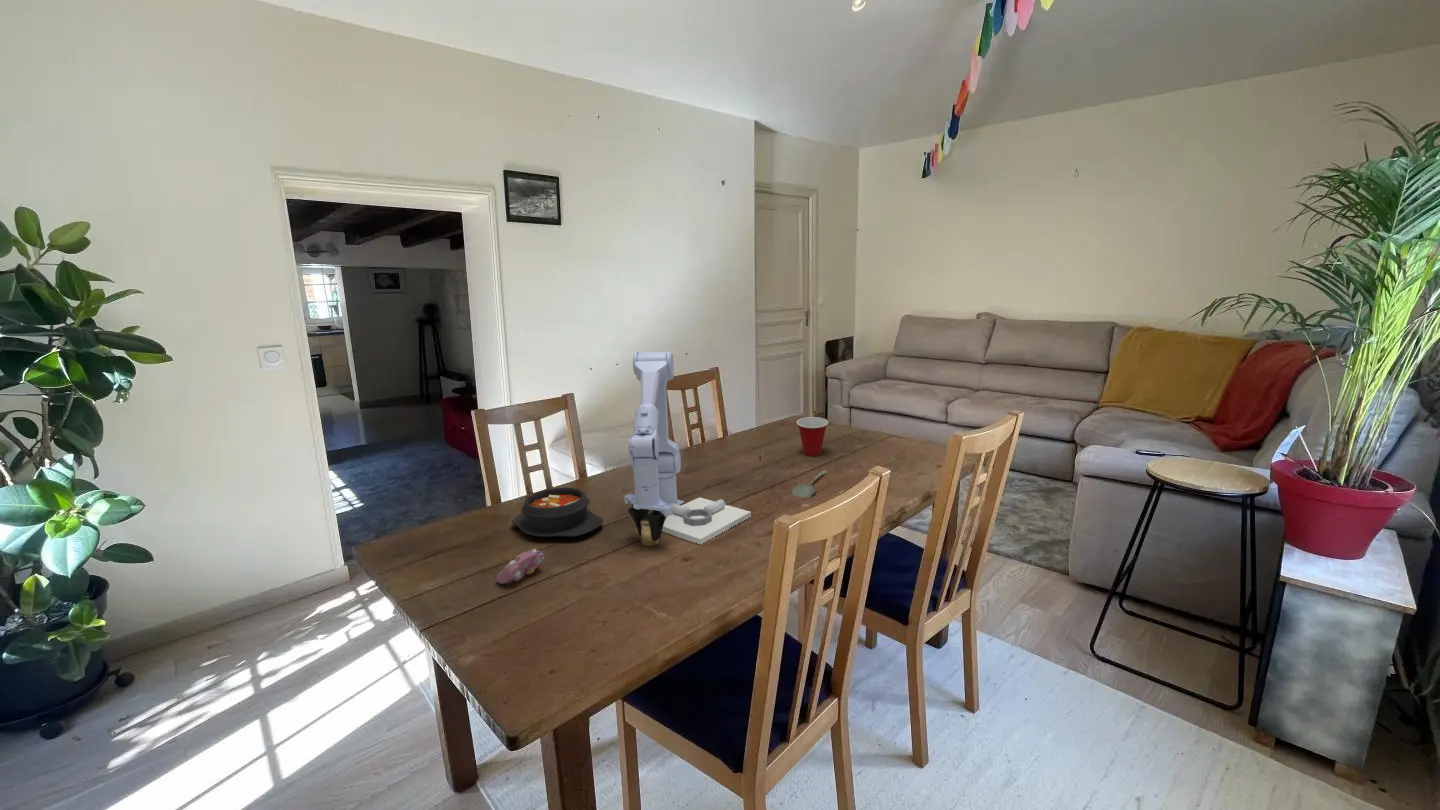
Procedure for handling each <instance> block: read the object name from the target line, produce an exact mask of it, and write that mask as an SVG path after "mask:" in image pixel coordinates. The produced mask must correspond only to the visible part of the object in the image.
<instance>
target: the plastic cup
mask: <svg viewBox="0 0 1440 810" xmlns="http://www.w3.org/2000/svg"><path fill="white" fill-rule="evenodd" d="M796 424H797V426H798V430H799V434H800V441H801V446H802V451H803V455H805V456H807V457H817V456H820V455H821V454H822V449H823V444H824V439H825V432H826V428H827V426H828V424H829V421H828V419H825V418H822V417H817V416H815V417H814V416H810V417H809V416H807V417H802V418H799V419H797V420H796Z"/></svg>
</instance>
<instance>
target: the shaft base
mask: <svg viewBox="0 0 1440 810" xmlns="http://www.w3.org/2000/svg"><path fill="white" fill-rule="evenodd" d="M670 506H672V510H673V514H672V515H670V516H668V517H667V518H666V520H665V522H664V525H663V528H662V532H663V533H665V534H668V535H671V536H674V537H676V538H679V539H683V540H686V541H688V542H691V543H693V542H694V544H696V543H697V545H699V544H700V546H701V544H702V545H704V544H705V543H707V542H708V540H709V541H710V539H711V540H712V538H713V539H714V538H716V537H718V536H719V534H720V535H721V533H722V532H723V533H725V532H727V531H728V529H729V530H731V529H732V528H734V527H736V526H737V524H738V523H740V522H741V523H743V522H745V521H747V520H749V519H750V518H752V512H751V511H749V510H746V509H742V508H739V507H735V506H732V505H727V504H726V502H725V500H724V499H721V498H720V499H718V500H715V501H714V500H711V499H708V498H707V499H706V498H703V497H700V496H699V497H698V498H695V499H693V500H690V501H689V502H688V501H687V502H686V503H683V504H680V505H678V504H674V503H671V504H670ZM749 517H750V518H749ZM748 518H749V519H748ZM746 519H747V520H746ZM744 520H745V521H744ZM742 521H743V522H742ZM741 523H740V524H741ZM735 525H736V526H735ZM738 525H739V524H738ZM733 526H734V527H733ZM731 527H732V528H731ZM730 528H731V529H730ZM726 530H727V531H726ZM724 531H725V532H724ZM723 533H722V534H723ZM717 535H718V536H717ZM715 536H716V537H715ZM706 541H707V542H706ZM704 542H705V543H704ZM703 543H704V544H703Z"/></svg>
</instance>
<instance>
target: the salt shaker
mask: <svg viewBox="0 0 1440 810" xmlns="http://www.w3.org/2000/svg"><path fill="white" fill-rule="evenodd" d="M640 524H641V536H640V537H641V544H642V545H643V546H646V547H651V546H656V545H658V544H659V539H658V540H656V541H653V540H652V536H651V528H650V524H649V522H648V519H647V517H646V516H645V517H642V518H641V519H640Z"/></svg>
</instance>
